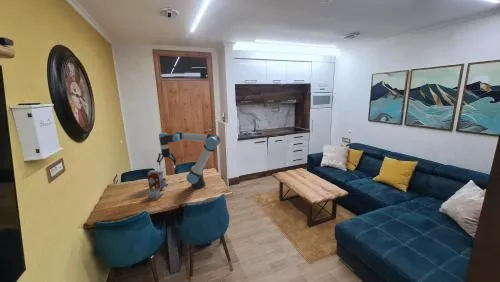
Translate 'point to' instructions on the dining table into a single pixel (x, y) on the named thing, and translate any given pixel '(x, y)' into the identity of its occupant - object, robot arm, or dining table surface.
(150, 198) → the peg on base
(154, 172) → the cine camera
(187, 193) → the dining table surface
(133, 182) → the dining table surface
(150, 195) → the hollow square steel tube
